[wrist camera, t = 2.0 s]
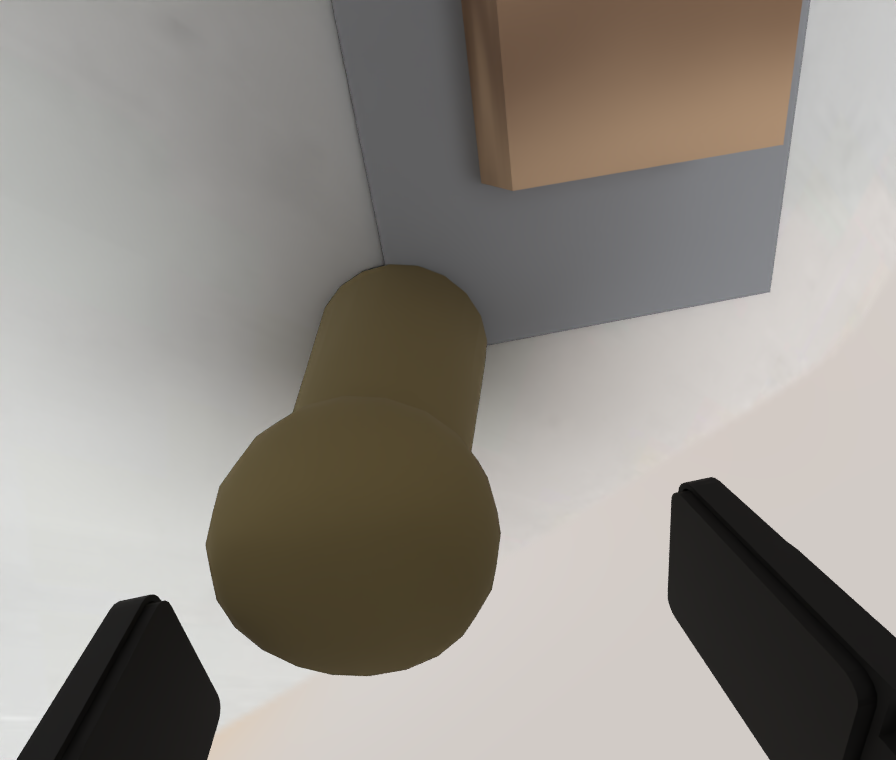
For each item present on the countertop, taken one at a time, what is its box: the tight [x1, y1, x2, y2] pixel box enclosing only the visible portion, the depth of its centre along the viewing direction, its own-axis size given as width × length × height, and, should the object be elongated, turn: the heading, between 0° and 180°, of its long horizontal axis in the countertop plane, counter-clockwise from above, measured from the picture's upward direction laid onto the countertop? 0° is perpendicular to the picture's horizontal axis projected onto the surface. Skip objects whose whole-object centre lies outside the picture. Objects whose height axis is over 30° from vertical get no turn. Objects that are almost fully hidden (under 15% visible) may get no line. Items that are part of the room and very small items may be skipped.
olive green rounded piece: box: [206, 264, 501, 676], centre depth 13 cm, size 6×6×11 cm
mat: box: [331, 0, 810, 345], centre depth 14 cm, size 18×14×1 cm
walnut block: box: [461, 0, 802, 191], centre depth 12 cm, size 7×7×4 cm
